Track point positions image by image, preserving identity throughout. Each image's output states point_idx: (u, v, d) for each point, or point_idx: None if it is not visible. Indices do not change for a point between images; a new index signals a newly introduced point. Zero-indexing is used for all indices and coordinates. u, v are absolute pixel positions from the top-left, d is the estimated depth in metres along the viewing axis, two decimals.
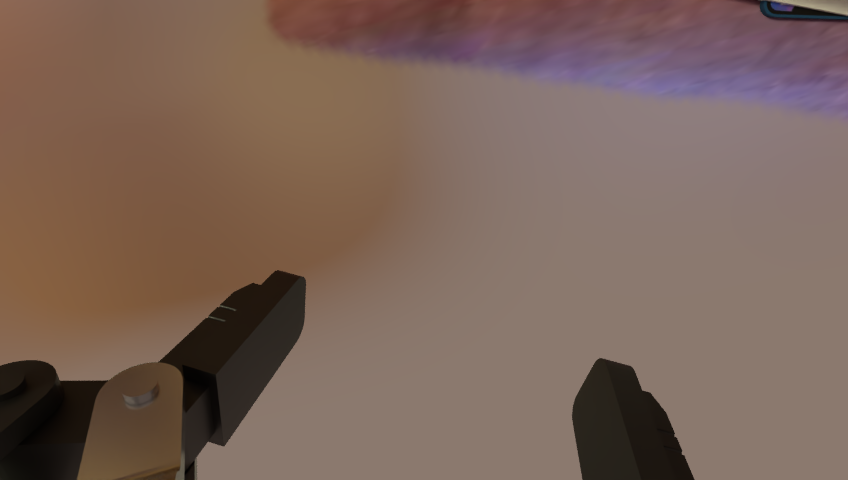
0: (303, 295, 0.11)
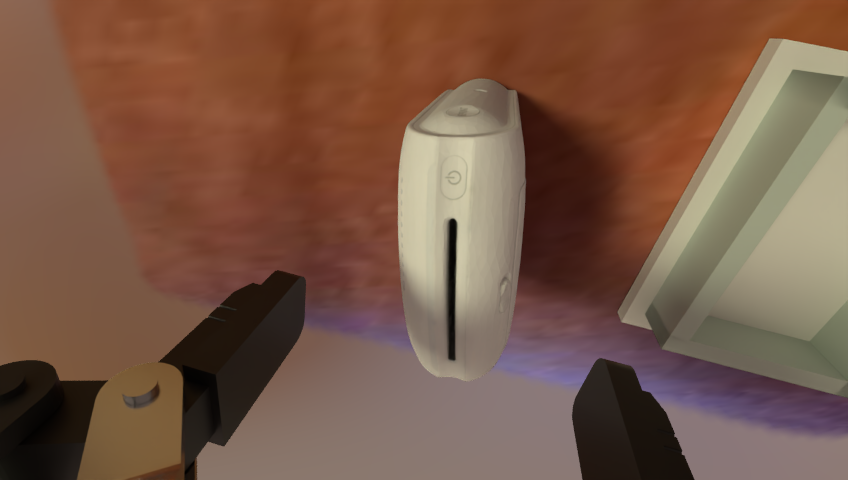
0: (303, 295, 0.11)
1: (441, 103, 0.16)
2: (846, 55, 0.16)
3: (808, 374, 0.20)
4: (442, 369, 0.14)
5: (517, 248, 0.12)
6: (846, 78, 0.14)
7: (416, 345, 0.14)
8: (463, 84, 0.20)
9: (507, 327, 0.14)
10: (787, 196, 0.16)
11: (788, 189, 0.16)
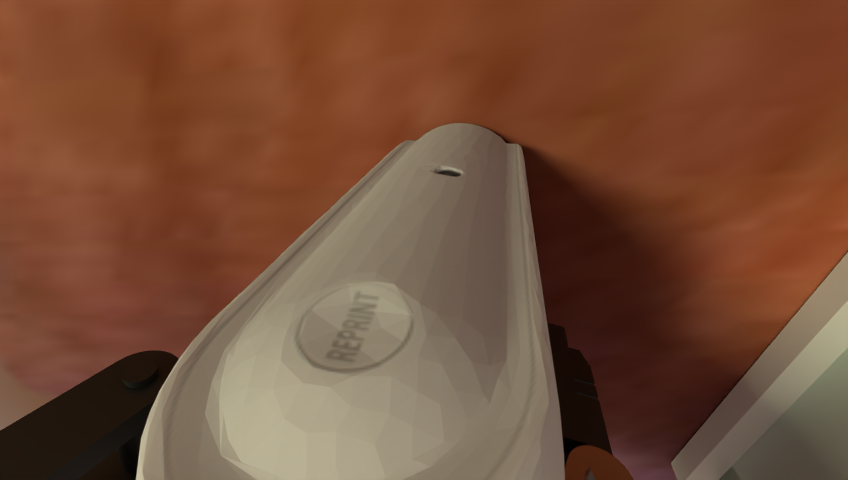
0: None
1: (366, 195, 0.08)
2: None
3: None
4: None
5: None
6: None
7: None
8: (428, 135, 0.11)
9: None
10: None
11: None
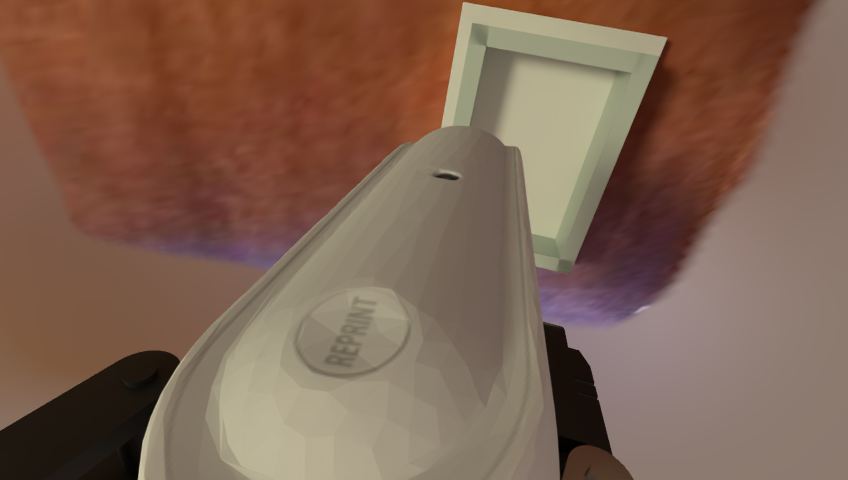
0: None
1: (365, 198, 0.08)
2: (506, 12, 0.23)
3: None
4: None
5: None
6: (474, 24, 0.21)
7: None
8: (427, 137, 0.11)
9: None
10: (469, 112, 0.23)
11: (468, 106, 0.23)
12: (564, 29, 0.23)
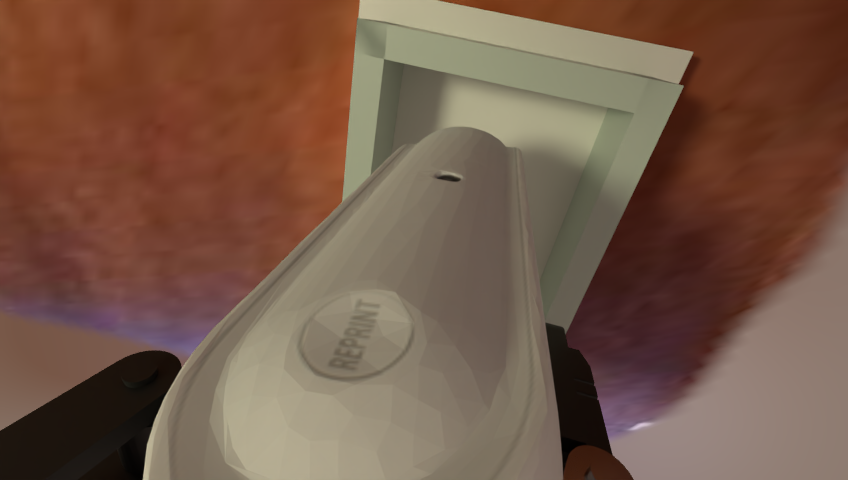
0: None
1: (367, 200, 0.08)
2: (430, 3, 0.14)
3: None
4: None
5: None
6: (360, 20, 0.12)
7: None
8: (428, 138, 0.11)
9: None
10: (367, 165, 0.14)
11: (364, 156, 0.14)
12: (524, 34, 0.14)
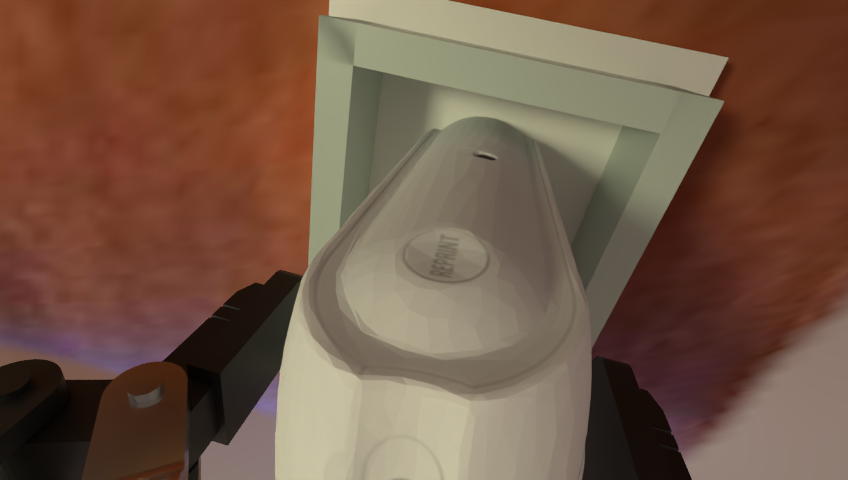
0: None
1: (412, 171, 0.09)
2: None
3: None
4: None
5: None
6: (323, 17, 0.10)
7: None
8: (455, 124, 0.12)
9: None
10: (337, 190, 0.12)
11: (333, 180, 0.12)
12: (524, 36, 0.12)
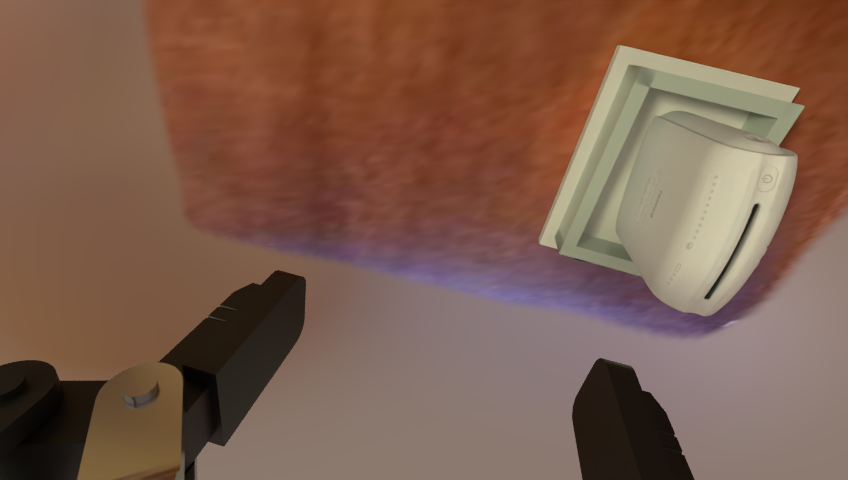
0: (303, 295, 0.11)
1: (690, 128, 0.23)
2: (658, 56, 0.27)
3: None
4: (694, 305, 0.22)
5: None
6: (643, 67, 0.24)
7: (679, 288, 0.22)
8: (673, 114, 0.27)
9: None
10: (621, 141, 0.27)
11: (621, 136, 0.26)
12: (708, 75, 0.27)
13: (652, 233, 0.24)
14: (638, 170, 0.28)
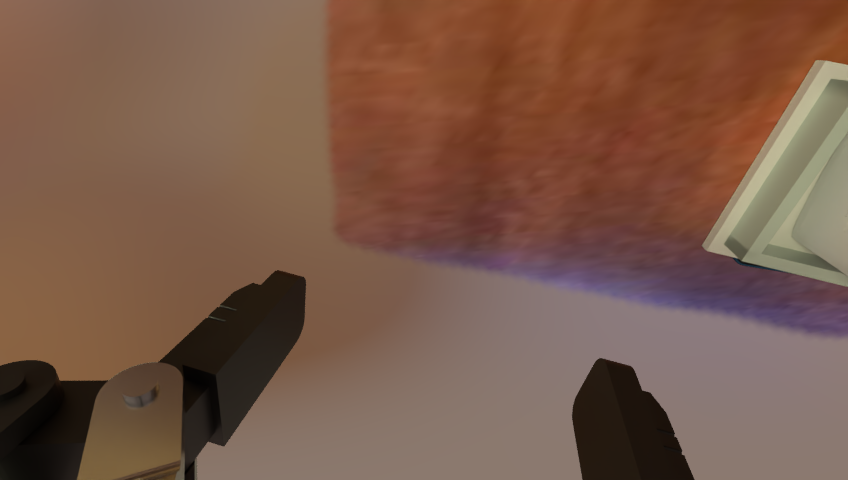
0: (303, 295, 0.11)
1: None
2: None
3: (839, 274, 0.31)
4: None
5: None
6: None
7: None
8: None
9: None
10: (829, 154, 0.28)
11: (830, 149, 0.27)
12: None
13: None
14: (834, 180, 0.29)
